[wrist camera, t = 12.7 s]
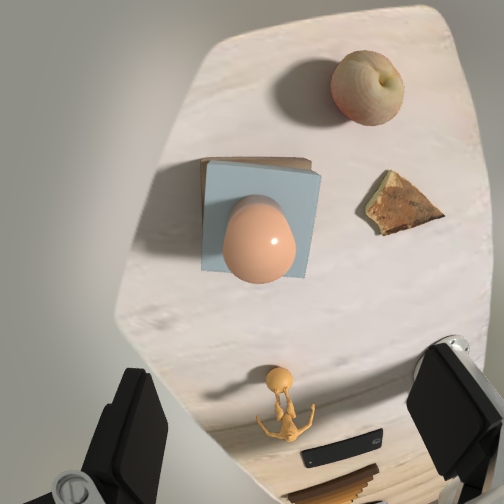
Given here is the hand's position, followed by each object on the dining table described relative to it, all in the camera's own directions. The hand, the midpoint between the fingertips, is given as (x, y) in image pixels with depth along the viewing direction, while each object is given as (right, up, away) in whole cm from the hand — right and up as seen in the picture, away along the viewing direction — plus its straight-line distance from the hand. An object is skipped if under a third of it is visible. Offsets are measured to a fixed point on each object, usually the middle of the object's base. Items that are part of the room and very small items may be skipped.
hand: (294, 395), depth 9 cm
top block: (-1, +9, +22) cm, 24 cm away
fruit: (+10, +23, +22) cm, 33 cm away
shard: (+18, +12, +27) cm, 35 cm away
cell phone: (+19, -39, +47) cm, 64 cm away
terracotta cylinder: (-1, +7, +19) cm, 20 cm away
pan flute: (+25, -65, +58) cm, 90 cm away
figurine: (+3, -14, +36) cm, 39 cm away
